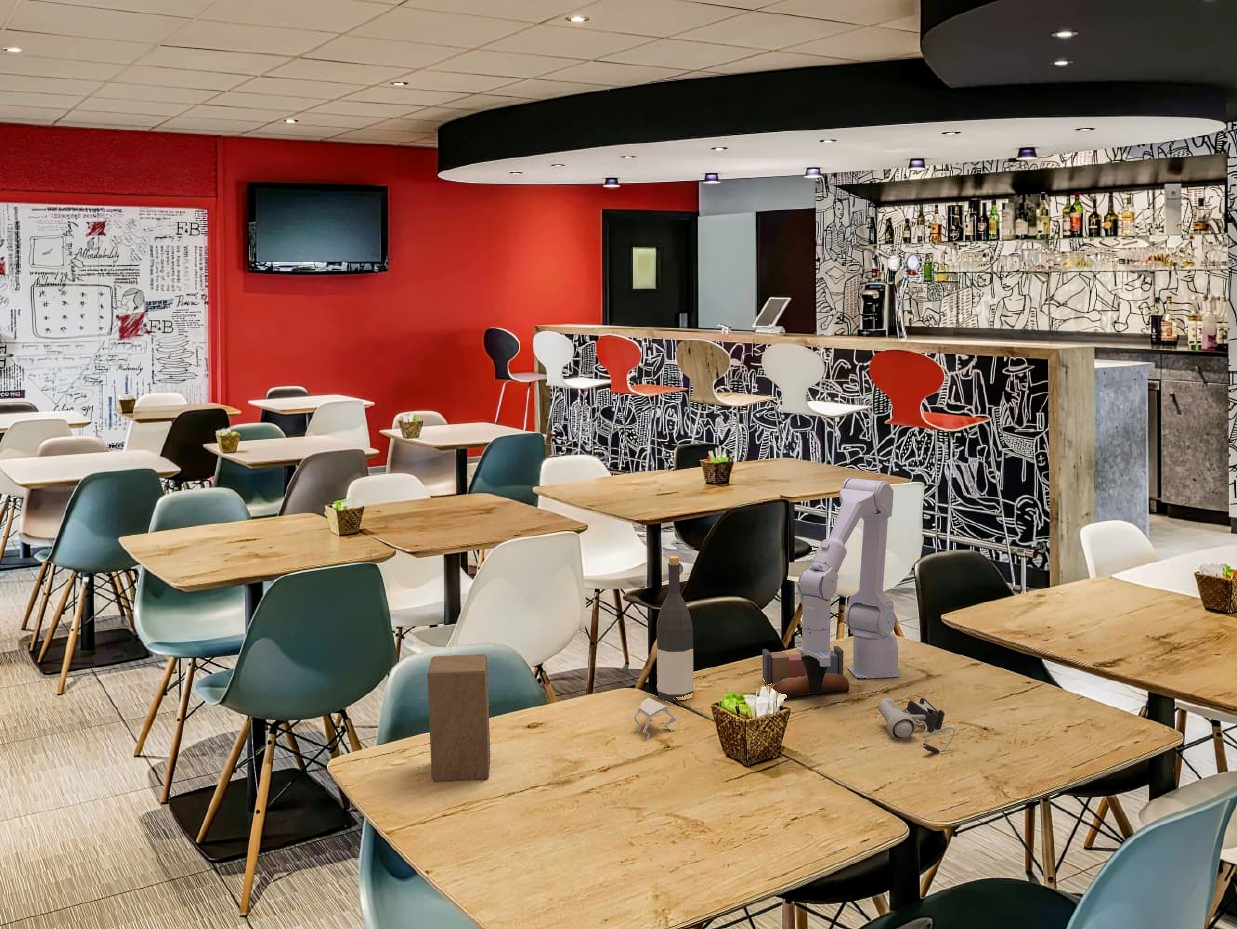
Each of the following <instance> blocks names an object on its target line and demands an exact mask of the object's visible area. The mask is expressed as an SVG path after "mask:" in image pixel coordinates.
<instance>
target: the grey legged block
mask: <svg viewBox="0 0 1237 929" xmlns="http://www.w3.org/2000/svg"><path fill="white" fill-rule="evenodd" d="M669 707H670V706H668V705H664V704H662V703H661V702H658V701H657V700H654V698H653V699H652V698H651V697H647V698H646V699H643V701H641V703H640V706H639V707H638V709H637V712H636V713H635V714H634V715H633V717H632V718H633V719H634V721H635V722H636V724H637V725H638V727H639V729H638V733H640V732H641V730H642V727H641V724H640V723H639V721H638V719H637V717H638V715H639V714H640V713H642V715H644V716H646V717H648V719H647V721H646V724H645V727H644V728H643V730H642V732H643V733H644V734H646V735H647V736H646V738H645V739H646V740H648V739H649V738H650V736H651V733H650V732H648V731H647V730H648V727H649V725H650V721H653V722H654V720H655V719H653V718H652V717H654V716H656V715H657V714H659V713H661V712H664V713H666V715H668V716H669V717H671V718H670V719H669V720H668V721H666V722H665V723H664V724H663V725H662V726H663V727H664V728H666V729H667V730H668V731H671V732H672V731H673V729H672V728H669V727H668V726H669V725H670V724H672V723H674V722H676V721H678V720H679V718H677V717H676V716H675V715H674V714H673V713H672V712H671V711H670V710H669V709H670V708H669Z"/></svg>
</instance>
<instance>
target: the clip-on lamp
mask: <svg viewBox="0 0 1237 929" xmlns="http://www.w3.org/2000/svg"><path fill="white" fill-rule="evenodd" d="M877 709H878V712H879V713H880V714H881V716H882V718H883V719H884V720H885V722H886V723H887V725H886V728H887V731H888V733H889V734H890V735H891V737H893V738H894V739H896V740H906V739H909V738H910V737H911V736H912V735H913V733H914V732H915V730H916V724H918V725H920V724H923V725H924V727H925V730H924V732H923V734H922V738H923V739H927V738H928V737H932V736H934V735H937V734H939V733H941V732H944V731H947V730H952V731H953V732H952V735H951V736H950V739H949V740H948V742H947V743H946V744H945V745H944V747H942V748H941V749H938V748H937V747H935V746H932V745H929V744H927V743H923V744H920V745H919V746H920V747H922V748H923V749H924V750H926V751H927V752H931V753H934V754H940V753H942V752H943V751H944V750H946V748H947V747H949V745H950V744H951V742H952V740H953V739H954V736H955V734H956V729H955V727H953V726H946V727H942V726H943V722H944V718H945V715H946V714H945V711H943V710H942V709H939V710H937V709H936V708H935V706H933V705H932V704H931V703H930V702H929V701H928V700H927V699H925V697H921V698H920V699H919V702H916V701H913V700H909V701H908V702H907V707H905V708H903V709H901V708H900V707H899V706H898V705H897V703H896V702H895V701H894V699H893V698H890V697H884V698H882V699H881V700H879V702H878V704H877ZM915 723H916V724H915ZM927 732H929V733H928V734H926V733H927Z"/></svg>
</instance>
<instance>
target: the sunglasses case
mask: <svg viewBox="0 0 1237 929" xmlns="http://www.w3.org/2000/svg"><path fill="white" fill-rule="evenodd" d="M768 686H769V687H771V688H773V689H774V690H775V691H777V692H778V693H781V694H786V695H787V698H786V699H791V698H794V697H800V696H803V695H804V696H807V695H815V694H820V693H822V694H823V693H824V694H825V693H832V692H840V691H846V692H847V691H850V681H849V680H848V677H847V676H845V675H844V674H843V675H841V674H834V673H825V675H824V679H823V683H822V688H821V691H811V690H810V688H809V682H808V677H807V676H804V677H803V676H798V677H797V678H786V679H783V680H781V681H779V682H778V683H775V684H771V685H768Z"/></svg>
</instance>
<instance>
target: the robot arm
mask: <svg viewBox="0 0 1237 929" xmlns="http://www.w3.org/2000/svg"><path fill="white" fill-rule="evenodd" d="M839 502H840V507H839V510H838V513H837V516H836V519H835V521H834V524H833V527H832V530H831V533H830V535H829V537H828V538H825V539H823V540H822V541H821V542H820V544H819V546H818V549H817V551H816V553H815V554H814V557H813V559H812V561H811V563H810V566H809V568H808V569H806V570H804V571H802V572H801V573H800V575H799V577H798V580H797V583H796V590H797V593H798V594H799V602H800V604H801V605H802V627H801V628H802V630H801V631H802V636H801V637H802V638H801V639H802V640H801V646H796V648H795V650H796V652H797V653H798V654H800V653H805V654H807V655H808V656H802V657H801V660H802V661H803V664H804V666H805V669H806V672H807V677H808V682H809V688H810V690H811V691H821V688H822V683H823V679H824V675H825V673H826V670H827V668H828V667H829V666H830V663H831V657H830V653H831V650H832V648H831V608H832V607H831V599H832V598H833V597H834V596H835V594H836V592H837V588H838V580H839V574H838V573H839V571H840V568H841V567H842V565H843V563H844V560H845V558H846V556H847V554H848V552H847V548H846V543H847V542H848V540H849V538H850V536H851V535H852V533H853V532H854V529H855V528H856V526H857V524H858V522H859V521H860V519H861V518H862V519H861V520H863V528H862V540H861V541H862V544H861V558H860V559H861V560H860V573H859V587H858V591H856V592H855V593H854V594H852V595H851V596H849V598H848V602H847V603H848V604H847V607H846V610H845V613H844V621H845V624H846V627H847V628H848V629H849V631H850V632H849V633H850V634H851V635H853V638H852V642H853V643H852V644H853V646H852V665H849V666H846V669H847V668H848V669H849V670H848V669H847V670H848V671H849V672H850V671H851V672H850V673H851V674H852V675H853V676H854V677H855V678H856V679H857V678H866V679H881V678H883V679H885V678H898V677H900V674H899V667H898V666H899V645H898V639H897V637H896V635H895V633H892V632H893V631H894V628H895V626H896V615H895V608H894V607H895V603H894V601H893V600H892V599H891V598H890V597H889V596H888V595H886V593H885V592H884V581H885V569H886V568H885V565H886V552H887V551H886V549H887V537H888V536H887V535H888V525H889V524H888V523H889V518H890V517H891V518H892V515H893V505H894V489H893V488H892V486H891V485H890V482H888V481H887V480H874V479H864V478H854V477H847V478H846V479H845V480H844V481H843V483H842V485H841V487H840V491H839Z"/></svg>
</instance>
